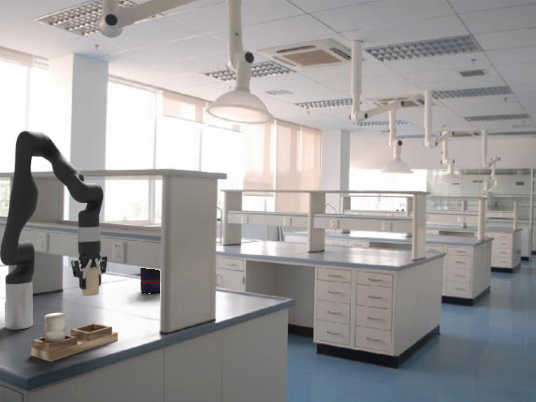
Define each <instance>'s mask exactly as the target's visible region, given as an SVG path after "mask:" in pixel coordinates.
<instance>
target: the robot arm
mask: <svg viewBox="0 0 536 402" xmlns="http://www.w3.org/2000/svg"><path fill="white" fill-rule="evenodd" d="M14 148H15V153H14V170H13V180H12V186H11V191H10V198H9V203H8V204H9V206H8V213H7V218H6V224H5V228H4V232H3V236H2V240H1V244H0V261H1V263H2V265H4V266H8V267H9V266H10V267H11V266H15V268H14V270H12V271H11V272H9V273H8V274H7V275H5V279H4V280H5V282H4V283H5V287H4V289H5V302H4V316H5V317H4V327H5V329H7V330H14V331H15V330H16V331H17V330H24V329H27V328H31V327H32V326H33V324H34V323H33V322H34V321H33V320H34V317H33V316H34V315H33V314H34V311H33V309H34V308H33V276H34V274H35V259H36V257H35V255H36V254H35V253H36V251H35V246H34V244H33V242H32V241H31V240H29V239H20V236H21V234H22V231H23V229H24V227H25V225H26V224H27V223H28V222H29V221H30V219H31V218H32V217H33V215H34V213H35V211H36V209H37V206H38V198H39V190H38V189H39V188H38V186H37V183H36V180H35V179H34V175H33V173H32V159H33V157H35V158H37V157H38V158H43V159H44V160H46V161H48V162H49V163H50V164H51V168H52V171H53V174H54V177H56V179H58V180H59V181H60V182H61V183H62V184H63V185H64V186H65V187H66V188H67V191H68V193H69V194H70V196H71V198H72V199H73V200H74V201H75V202H78V203H80V204H86V206H85V208H84V209H83V210H80V211H79V212H78V214H77V216H78V217H77V219H78V220H77V221H78V222H77V223H78V224H77V227H78V228H77V251H78V252H77V253H78V255H79V256H78V259H76V260H71V261H70V264H71V269H72V275H73V277H74V278H78V284H79V286H78V287H79V289H80V290H82V289H86V279H85V277H86V274H87V272H88V271H89V268H90V267H91V268H93V267H96V268H97V269H98V272H99V287H101V284H102V275H103V274H106V273H107V267H108V256H104V255H102V256H101V252H102V250H101V249H102V244H101V243H102V241H101V239H102V238H101V237H102V236H101V229H100V228H101V227H100V213H101V210H102V205H103V201H104V190H103V188H102V186H101V184H98V183H96V182H84V181H85V177H84V174H83V173H82V172H81V171H79V170H78V168H77V167H76V166H74V165H73V164H72V163H71V162H70V161H69V160H68V159H67V158H66V157H65V156H64V154H63V153H62V152H61V150H60V149H59V148H58V146H57V145H56V144H55V142H54V141H53V139H52V138H51V137H50V136H49V135H48V134H46V133H44V132H41V131H32V130H23V131H21V132H19V134H18V136H17V138H16V141H15V147H14Z"/></svg>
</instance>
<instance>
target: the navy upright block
mask: <svg viewBox="0 0 536 402" xmlns="http://www.w3.org/2000/svg"><path fill="white" fill-rule="evenodd" d="M139 269H140V270H139V271H140V277H139V278H140V292H141V293H152V294H153V293H157V292H158V293H159V292H161V291H160V271H159V270H155V269H146V268H139Z"/></svg>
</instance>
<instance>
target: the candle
mask: <svg viewBox="0 0 536 402" xmlns="http://www.w3.org/2000/svg"><path fill="white" fill-rule="evenodd" d="M85 279H86V289H81V290H82V292H81V293H82V296H83V297H92V296H97V295H99V294H100V286H99V272H98V269H97V268H96V267H93V268H91V267H90V268H89V271H88V272H87V274H86V277H85Z"/></svg>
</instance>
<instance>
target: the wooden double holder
mask: <svg viewBox="0 0 536 402" xmlns="http://www.w3.org/2000/svg"><path fill="white" fill-rule="evenodd" d="M118 340H119V332H116V331H113V327H112V326H110V325H106V324H101V323H97V322H93V323H90V324H86V325H82V326H78V327H75V328H71V329H70V334H66V314H65V313H64V312H53V313H48V314H45V315H44V336H42V337H39V338H35V339H32V340H31V341H32V342H31V343H32V347H31V356H32V357H35V358H37V359H41V360H44V361H48V362H53V361H57V360H59V359H63V358H66V357H69V356H72V355H75V354H77V353H81V352H85V351H87V350H90V349H93V348H96V347H100V346H102V345H105V344H108V343H113V342H115V341H118Z"/></svg>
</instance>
